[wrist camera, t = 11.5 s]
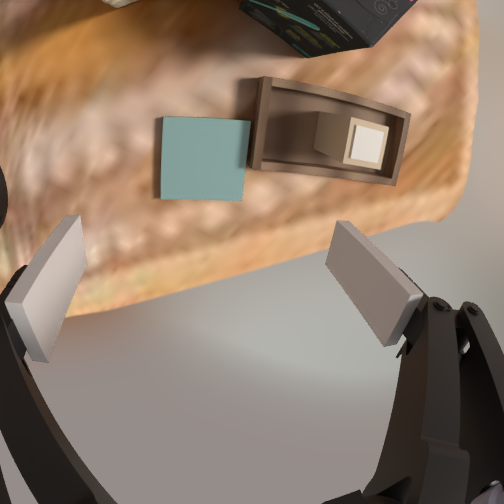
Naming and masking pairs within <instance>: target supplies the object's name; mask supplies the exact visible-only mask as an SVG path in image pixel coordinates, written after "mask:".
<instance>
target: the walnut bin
mask: <svg viewBox="0 0 504 504" xmlns="http://www.w3.org/2000/svg"><path fill="white" fill-rule="evenodd" d="M319 111H322V112H328V113H333V114H339V115H344V116H348V117H353V118H357V119H361V120H365V121H369V122H372V123H376V124H380V125H383V126H386V127H389V131H388V136H387V141H386V146H385V151H384V155H383V160H382V164H381V169H380V170H379V169H373V168H368V167H362V166H356V165H350V164H344V163H341V162H339V161H337V160H335V159H334V158H332V157H330V156H328V155H326V154H324V153H322V152H320V151H318V150H315V149H313V148H314V142H315V136H316V130H317V124H318V118H319ZM410 117H411V114H410V113H408V112H405V111H402V110H400V109H397V108H394V107H391V106H388V105H385V104H382V103H379V102H376V101H373V100H369V99H366V98H363V97H359V96H356V95H352V94H348V93H345V92H341V91H337V90H333V89H329V88H325V87H320V86H316V85H311V84H306V83H301V82H296V81H291V80H285V79H279V78H273V77H266V76H263V77H259V82H258V89H257V97H256V105H255V113H254V121H253V130H252V138H251V146H250V154H249V163H248V165H249V166H250V167H251V168H252V169H254V170H268V171H280V172H291V173H301V174H311V175H320V176H328V177H336V178H344V179H351V180H358V181H365V182H372V183H378V184H384V185H390V186H396V182H397V178H398V174H399V170H400V166H401V161H402V157H403V152H404V148H405V143H406V138H407V133H408V128H409V122H410Z"/></svg>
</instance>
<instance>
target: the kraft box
mask: <svg viewBox="0 0 504 504" xmlns="http://www.w3.org/2000/svg"><path fill="white" fill-rule="evenodd" d="M388 131H389V127H386V126H383V125H380V124H376V123H372V122H369V121H365V120H361V119H357V118H353V117H348V116H344V115H339V114H333V113H328V112H322V111H319V118H318V124H317V130H316V136H315V142H314V148H313V149H315V150H318V151H320V152H322V153H324V154H326V155H328V156H330V157H332V158H334V159H335V160H337V161H339V162H341V163H344V164H350V165H356V166H362V167H368V168H373V169H379V170H380V169H381V164H382V160H383V155H384V151H385V146H386V141H387V136H388Z"/></svg>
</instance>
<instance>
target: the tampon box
mask: <svg viewBox="0 0 504 504" xmlns="http://www.w3.org/2000/svg"><path fill="white" fill-rule="evenodd" d="M416 1H418V0H243V1H242V3H241V5H240V7H239V9H240V10H242V11H244V12H245V13H247V14H248V15H250V16H251V17H253V18H254V19H256V20H257V21H258V22H260V23H261V24H263V25H264V26H266V27H267V28H268V29H270V30H271V31H272V32H274V33H275V34H277V35H278V36H279V37H281V38H282V39H283V40H285V41H286V42H287V43H289V44H290V45H291V46H292V47H294V48H295V49H296V50H297V51H299V52H300V53H301V54H302V55H304V56H305V57H306V58H312V57H317V56H322V55H327V54H331V53H337V52H343V51H349V50H355V49H362V48H370V47H373V46H374V45H375V44H376V43H377V42H378V41H379V40H380V39H381V38H382V37H383V36H384V35H385V34H386V33H387V32H388V31H389V30H390V28H391V27H392V26H393V25H394V24H395V23H396V22H397V21H398V20H399V19H400V18H401V17H402V16H403V15H404V14H405V13H406V12H407V11H408V10H409V9H410V8H411V7H412V6H413V5H414V4H415V3H416Z"/></svg>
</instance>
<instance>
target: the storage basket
mask: <svg viewBox="0 0 504 504" xmlns="http://www.w3.org/2000/svg"><path fill="white" fill-rule="evenodd" d="M135 1H138V0H103V2H104V3H107V4H108V3H109V5H111V6H113V7H115V8H119V7H123V6H125V5H128V4H130V3H132V2H135Z"/></svg>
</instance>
